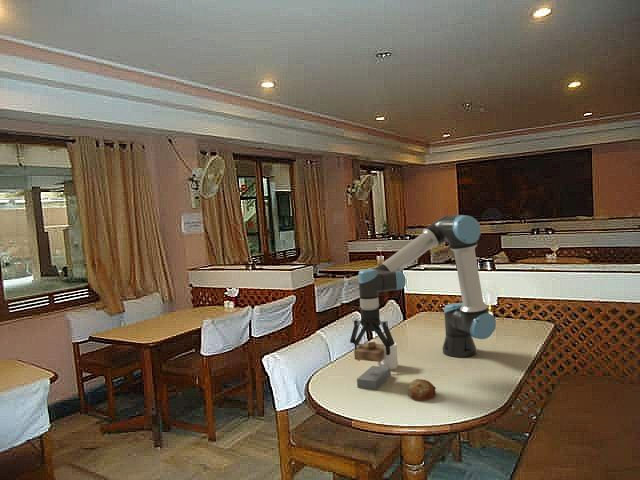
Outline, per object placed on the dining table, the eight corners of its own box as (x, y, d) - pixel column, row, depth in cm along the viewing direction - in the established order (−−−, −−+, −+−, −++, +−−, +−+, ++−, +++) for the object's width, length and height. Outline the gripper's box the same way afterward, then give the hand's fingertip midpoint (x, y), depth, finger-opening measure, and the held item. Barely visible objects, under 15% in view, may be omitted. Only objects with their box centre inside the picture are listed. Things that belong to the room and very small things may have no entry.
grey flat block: (390, 375, 197) (390, 367, 197) (376, 390, 183) (375, 381, 183) (372, 373, 201) (372, 365, 201) (357, 387, 187) (356, 378, 187)
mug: (386, 374, 199) (385, 350, 199) (370, 371, 205) (369, 347, 204) (401, 365, 208) (400, 342, 208) (385, 362, 214) (384, 340, 213)
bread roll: (410, 400, 180) (400, 383, 179) (433, 387, 180) (423, 369, 180) (417, 411, 170) (407, 393, 169) (442, 397, 171) (431, 378, 170)
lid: (390, 353, 194) (389, 340, 193) (380, 361, 184) (379, 348, 184) (365, 351, 199) (364, 338, 199) (354, 359, 189) (353, 346, 189)
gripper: (400, 307, 188) (403, 361, 189) (347, 304, 199) (350, 355, 201) (394, 311, 181) (397, 367, 183) (339, 308, 193) (343, 361, 194)
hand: (373, 361), depth 192 cm, fingers closed on lid, 11 cm apart
